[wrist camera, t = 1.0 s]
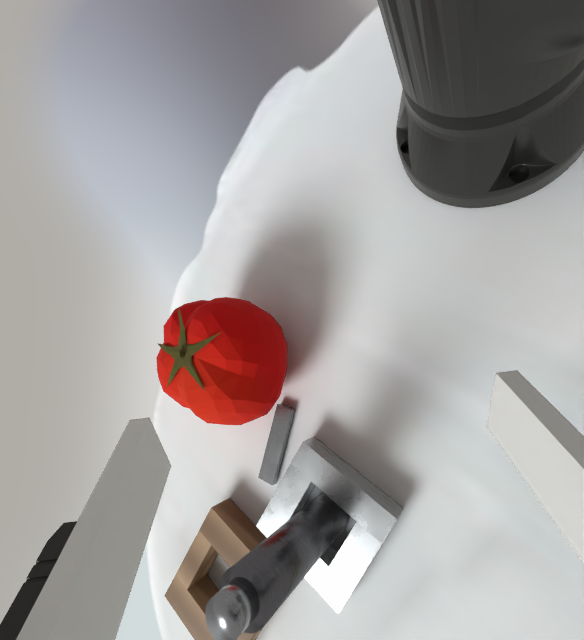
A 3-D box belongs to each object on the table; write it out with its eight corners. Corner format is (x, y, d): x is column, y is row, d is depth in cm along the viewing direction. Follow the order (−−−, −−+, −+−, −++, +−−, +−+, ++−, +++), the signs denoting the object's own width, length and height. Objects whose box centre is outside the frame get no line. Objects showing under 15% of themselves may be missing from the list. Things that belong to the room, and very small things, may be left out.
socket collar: (313, 437, 35) (302, 441, 33) (403, 508, 30) (397, 519, 28) (269, 516, 36) (256, 525, 34) (348, 596, 31) (338, 613, 29)
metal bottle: (324, 484, 34) (214, 569, 20) (355, 511, 32) (258, 624, 18) (307, 513, 34) (188, 616, 20) (336, 541, 32) (229, 674, 19)
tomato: (266, 281, 40) (194, 253, 30) (330, 378, 35) (270, 383, 25) (199, 345, 43) (115, 339, 33) (248, 441, 38) (166, 468, 28)
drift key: (281, 403, 37) (277, 404, 36) (295, 409, 36) (291, 410, 35) (262, 475, 37) (258, 477, 36) (276, 483, 36) (272, 485, 35)
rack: (229, 498, 39) (211, 507, 36) (296, 569, 34) (281, 586, 31) (184, 580, 40) (164, 595, 38) (243, 660, 36) (224, 683, 33)
